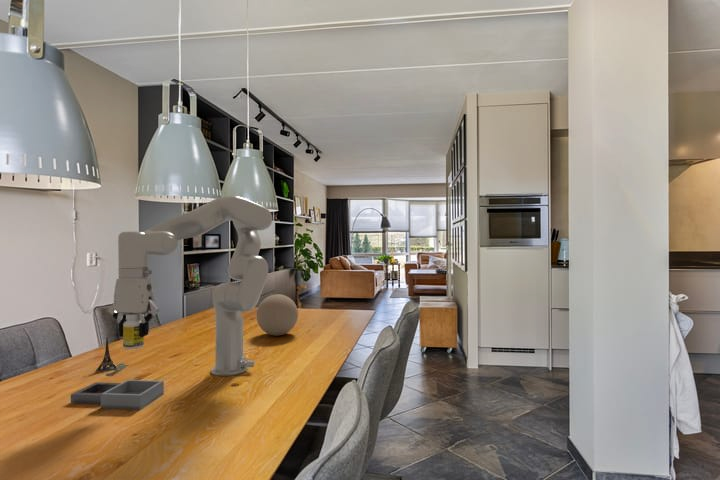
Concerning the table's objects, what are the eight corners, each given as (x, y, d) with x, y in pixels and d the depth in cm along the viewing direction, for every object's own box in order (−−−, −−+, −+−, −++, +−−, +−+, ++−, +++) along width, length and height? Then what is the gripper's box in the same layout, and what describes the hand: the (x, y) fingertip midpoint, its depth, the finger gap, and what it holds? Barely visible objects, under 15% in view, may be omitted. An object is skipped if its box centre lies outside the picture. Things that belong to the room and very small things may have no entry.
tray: (163, 394, 125) (163, 380, 125) (140, 409, 113) (140, 395, 113) (127, 392, 125) (127, 379, 125) (100, 408, 114) (100, 394, 114)
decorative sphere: (259, 330, 210) (259, 292, 210) (298, 330, 213) (298, 291, 212) (253, 340, 190) (253, 297, 190) (296, 339, 193) (297, 297, 193)
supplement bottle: (135, 350, 116) (134, 315, 116) (118, 349, 117) (118, 315, 117) (148, 345, 121) (148, 312, 121) (132, 344, 123) (132, 311, 122)
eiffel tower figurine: (113, 377, 141) (113, 338, 141) (81, 378, 140) (81, 339, 140) (132, 364, 156) (132, 329, 156) (103, 365, 155) (103, 329, 155)
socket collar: (126, 391, 127) (126, 383, 127) (103, 404, 117) (103, 395, 117) (95, 390, 127) (95, 382, 127) (70, 403, 117) (70, 394, 117)
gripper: (168, 272, 122) (169, 333, 122) (114, 272, 124) (114, 332, 124) (154, 275, 115) (154, 339, 115) (96, 274, 116) (96, 338, 116)
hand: (133, 335), depth 119 cm, fingers closed on supplement bottle, 5 cm apart
